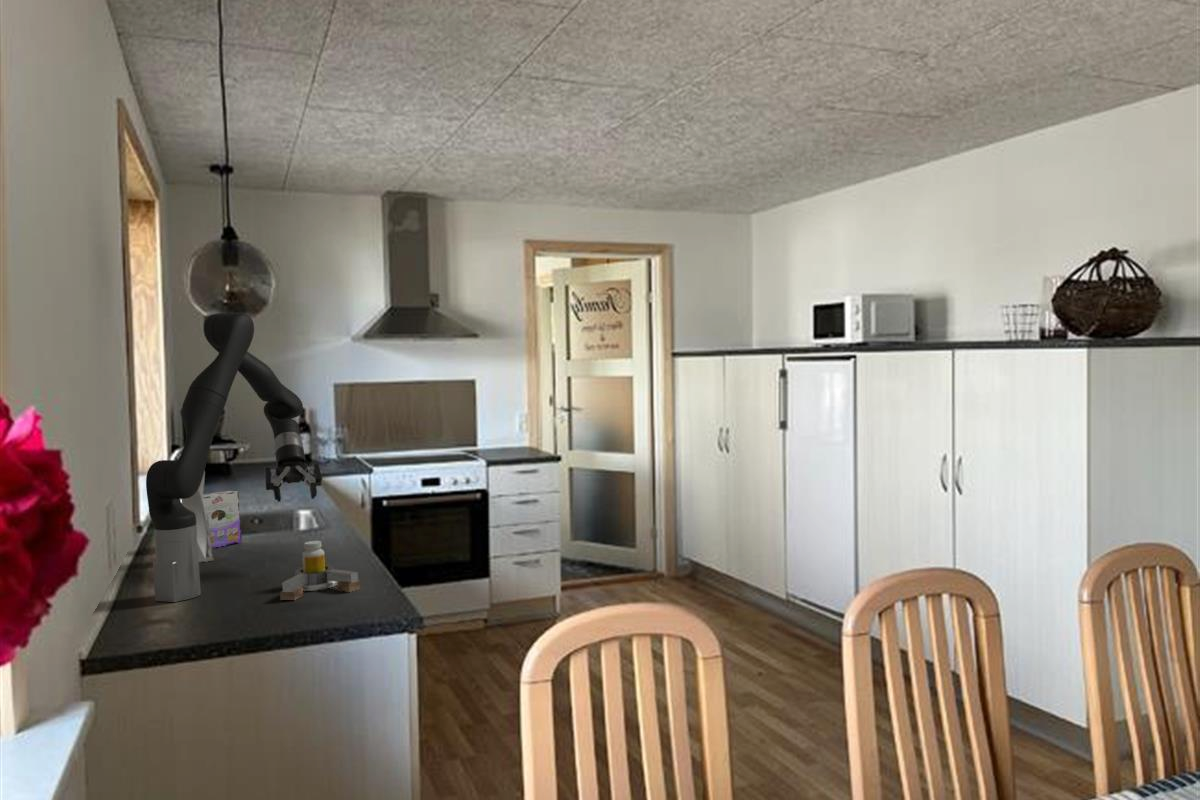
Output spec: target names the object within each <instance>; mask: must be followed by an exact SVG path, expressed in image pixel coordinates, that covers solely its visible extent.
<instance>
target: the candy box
mask: <svg viewBox="0 0 1200 800" xmlns="http://www.w3.org/2000/svg"><path fill="white" fill-rule="evenodd" d="M239 501H240V500H239V491H237V490H236V491H235V490H224V491H223V490H222V491H218V492H210V493H205V494H204V493H203V505H204V509H205V515H208V520H209V529H211V544H212V548H214V549H217V548H216V547H219V548H222V547H221V546H224V547H227V546H226V545H228V546H232V545H231V544H233V545H236V544H235V543H238V544H242V543H241V542H242V541H243V540H242V539H243V538H242V527H241V515H240V513H241V512H240V502H239ZM206 521H207V516H206Z"/></svg>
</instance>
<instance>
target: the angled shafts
mask: <svg viewBox="0 0 1200 800" xmlns="http://www.w3.org/2000/svg"><path fill="white" fill-rule="evenodd" d="M358 574H359V573H358V572H357V571H351V570H343V569H337V568H336V569H335V568H334V569H333V570H329V571H327V580H330V581H338V582H346V583H354V582H357V581H358V580H359V575H358ZM307 583H308V574H298V575H296V576H295V575H294V576H292V577H291V578H288V579H286V580H285V581H282V583H281V584H282V591H283V592H292V591H294V590H296V589H298V588H300V587H302V586H303V585H305V584H307Z"/></svg>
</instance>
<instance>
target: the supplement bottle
mask: <svg viewBox="0 0 1200 800" xmlns="http://www.w3.org/2000/svg"><path fill="white" fill-rule="evenodd" d="M322 545H323V544H322V541H321V540H310V541H306V542H304V544H303V547H304V551H303V552H302V553H301V560H302V562H301V563H302V568H303V573H315V572H321V571H324V570H325V565H326V556H325V555H326V554H325V551H324V549H322Z"/></svg>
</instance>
